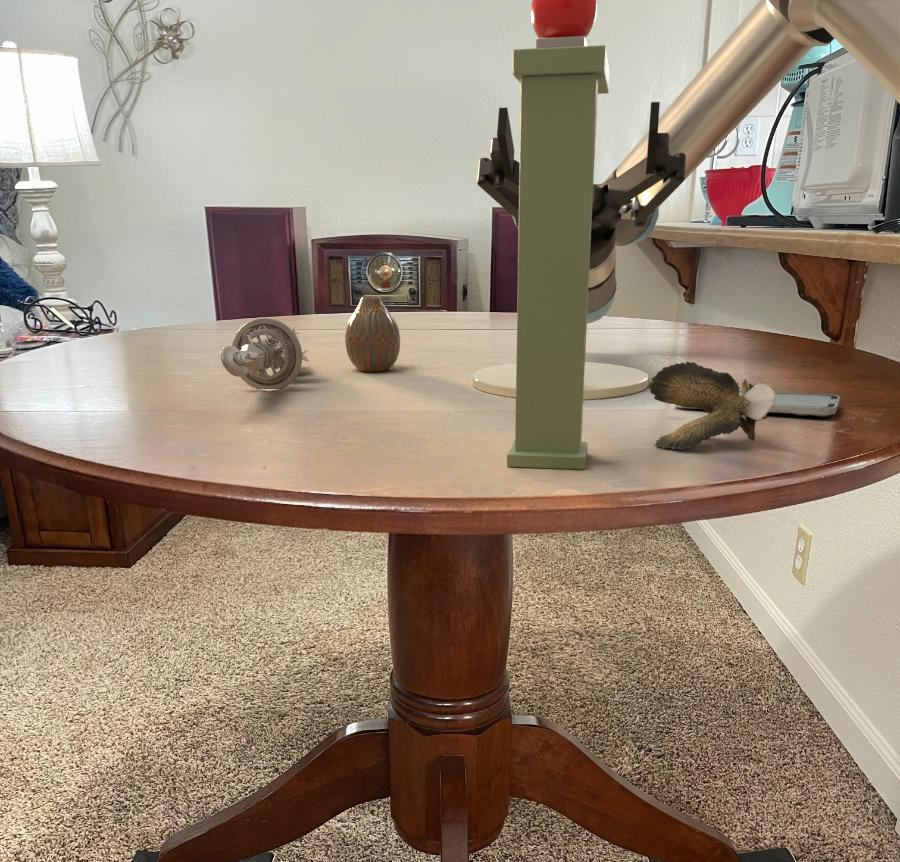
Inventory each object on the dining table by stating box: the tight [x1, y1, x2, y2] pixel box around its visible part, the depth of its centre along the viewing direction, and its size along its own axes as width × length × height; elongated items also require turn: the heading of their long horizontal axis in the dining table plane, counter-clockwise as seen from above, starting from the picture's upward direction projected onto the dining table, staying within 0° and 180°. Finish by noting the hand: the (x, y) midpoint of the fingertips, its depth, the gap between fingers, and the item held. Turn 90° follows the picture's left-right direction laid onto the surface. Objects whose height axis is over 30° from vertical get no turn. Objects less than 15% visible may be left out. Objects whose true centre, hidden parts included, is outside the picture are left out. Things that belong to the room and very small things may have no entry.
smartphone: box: [673, 390, 841, 418], centre depth 88 cm, size 7×1×15 cm
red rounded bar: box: [530, 0, 598, 48], centre depth 67 cm, size 20×4×5 cm, turn 169°
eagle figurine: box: [647, 361, 776, 450], centre depth 74 cm, size 8×7×9 cm
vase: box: [344, 295, 401, 373], centre depth 111 cm, size 7×7×9 cm
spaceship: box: [219, 317, 310, 390], centre depth 99 cm, size 8×35×8 cm
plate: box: [472, 361, 650, 401], centre depth 102 cm, size 20×20×1 cm
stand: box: [506, 44, 611, 470], centre depth 69 cm, size 12×6×28 cm, turn 169°
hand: (577, 118), depth 80 cm, fingers open, 13 cm apart
